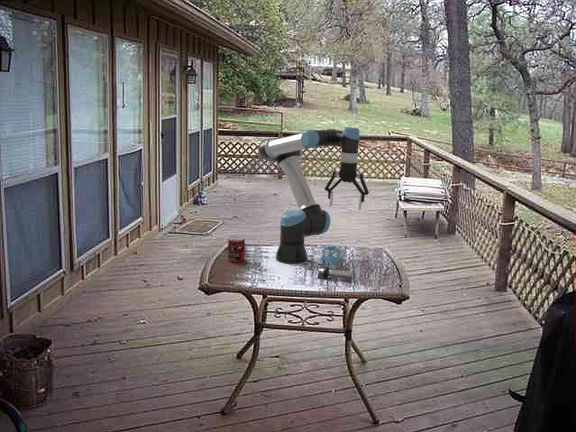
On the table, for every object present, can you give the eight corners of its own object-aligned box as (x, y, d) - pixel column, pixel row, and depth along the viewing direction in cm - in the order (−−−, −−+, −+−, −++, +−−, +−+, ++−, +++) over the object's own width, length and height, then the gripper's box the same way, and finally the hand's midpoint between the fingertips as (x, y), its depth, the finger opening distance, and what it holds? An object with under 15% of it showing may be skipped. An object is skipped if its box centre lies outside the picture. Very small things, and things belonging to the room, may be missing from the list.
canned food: (224, 261, 293) (225, 238, 291) (232, 257, 300) (233, 235, 298) (239, 263, 290) (240, 240, 288) (247, 259, 297) (247, 237, 295)
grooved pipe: (317, 278, 272) (318, 267, 271) (320, 275, 277) (320, 265, 276) (350, 282, 268) (350, 271, 267) (351, 279, 273) (352, 268, 272)
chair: (317, 272, 281) (318, 247, 278) (329, 269, 287) (330, 244, 284) (330, 276, 276) (331, 250, 273) (342, 272, 282) (343, 247, 279)
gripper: (377, 163, 282) (373, 209, 287) (323, 158, 288) (320, 203, 293) (375, 165, 275) (371, 212, 279) (320, 160, 281) (317, 206, 286)
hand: (345, 207), depth 286 cm, fingers open, 13 cm apart
